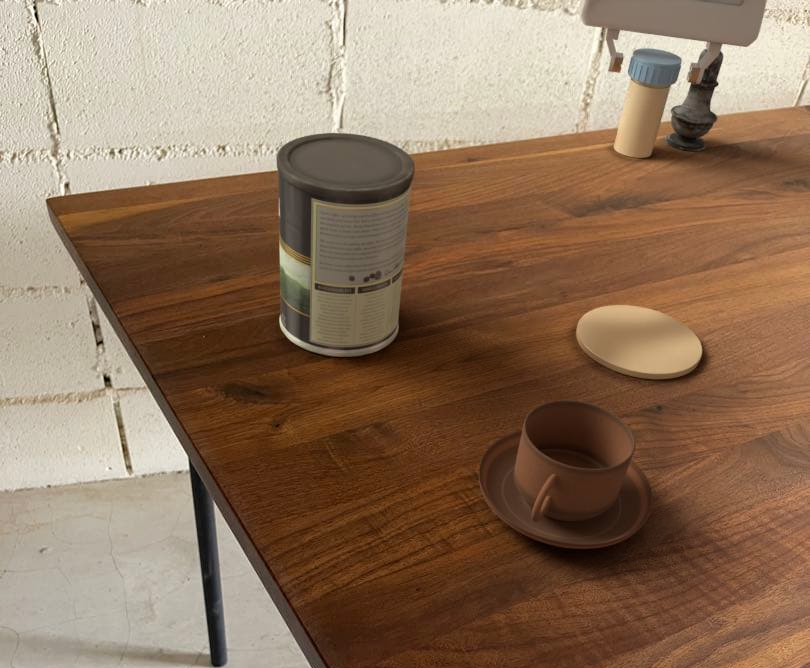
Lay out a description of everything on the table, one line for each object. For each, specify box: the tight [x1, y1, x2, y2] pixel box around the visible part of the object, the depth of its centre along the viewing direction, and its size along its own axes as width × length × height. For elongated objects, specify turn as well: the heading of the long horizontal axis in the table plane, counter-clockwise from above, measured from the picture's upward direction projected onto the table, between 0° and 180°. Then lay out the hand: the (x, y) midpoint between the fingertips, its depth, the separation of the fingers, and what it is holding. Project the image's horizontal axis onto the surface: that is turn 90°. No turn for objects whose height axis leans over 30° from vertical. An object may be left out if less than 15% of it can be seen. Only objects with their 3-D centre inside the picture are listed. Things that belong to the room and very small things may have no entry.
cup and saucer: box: [478, 399, 654, 550], centre depth 60 cm, size 12×12×6 cm
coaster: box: [575, 304, 703, 380], centre depth 78 cm, size 11×11×1 cm
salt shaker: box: [664, 48, 724, 152], centre depth 109 cm, size 6×6×12 cm
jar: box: [613, 77, 672, 159], centre depth 107 cm, size 5×5×10 cm
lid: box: [627, 47, 683, 86], centre depth 104 cm, size 6×6×2 cm
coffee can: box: [276, 132, 416, 358], centre depth 71 cm, size 10×10×14 cm
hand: (653, 76), depth 105 cm, fingers open, 8 cm apart
